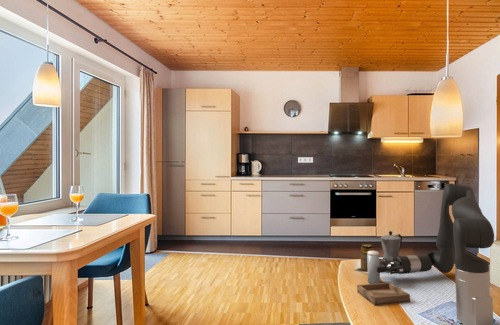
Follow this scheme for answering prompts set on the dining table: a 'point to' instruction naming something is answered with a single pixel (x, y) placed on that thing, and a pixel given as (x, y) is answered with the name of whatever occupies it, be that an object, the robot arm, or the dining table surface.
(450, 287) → the dining table surface
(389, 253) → the coffeepot
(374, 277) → the salt shaker
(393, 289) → the tray
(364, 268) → the condiment
